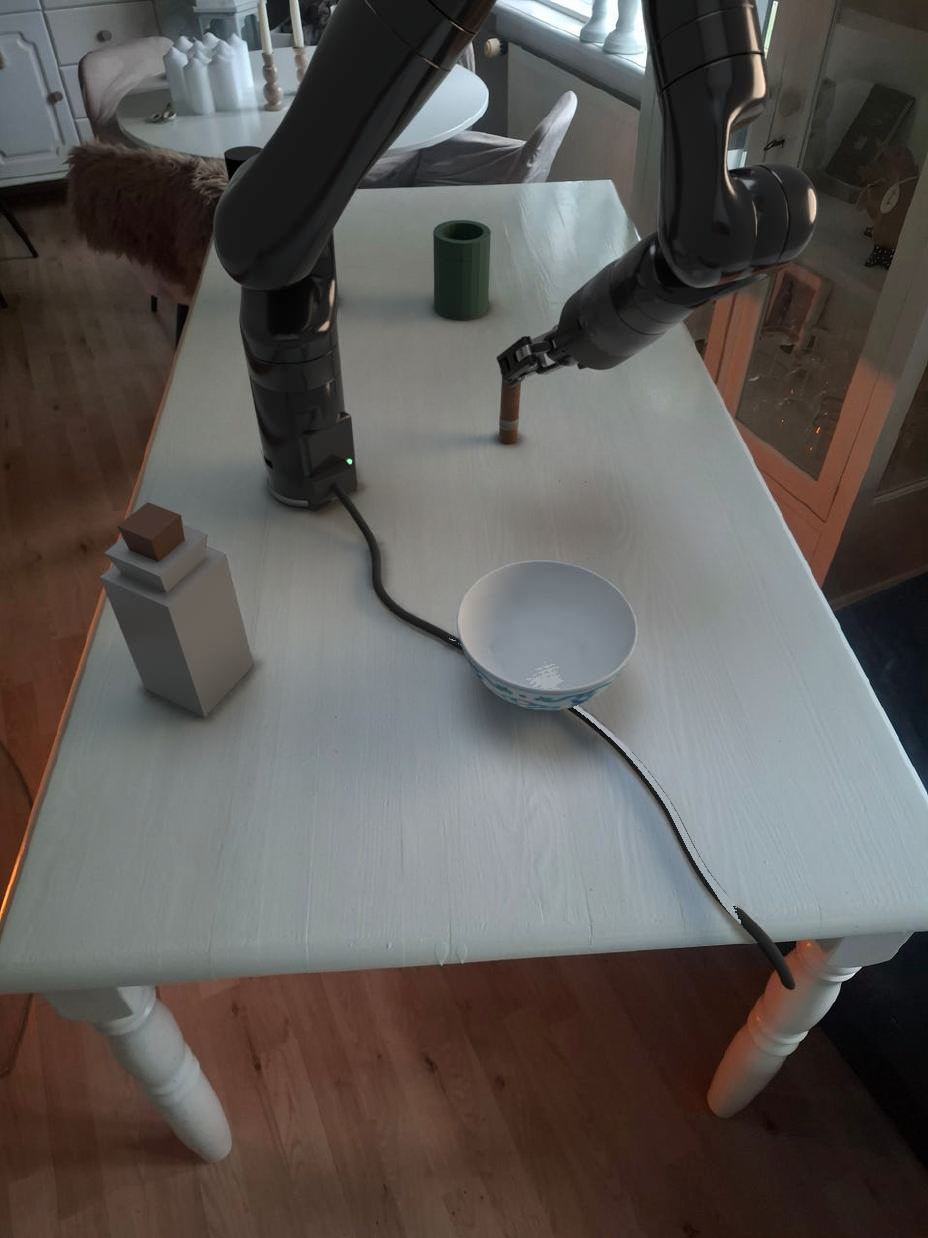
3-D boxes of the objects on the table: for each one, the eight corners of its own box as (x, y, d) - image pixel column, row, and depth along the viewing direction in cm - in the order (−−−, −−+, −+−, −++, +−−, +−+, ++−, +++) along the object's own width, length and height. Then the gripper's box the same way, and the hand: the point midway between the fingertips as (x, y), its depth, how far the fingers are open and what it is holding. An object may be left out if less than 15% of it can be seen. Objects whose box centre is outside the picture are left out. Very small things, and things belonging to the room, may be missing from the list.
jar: (498, 307, 126) (502, 231, 118) (461, 325, 122) (462, 248, 114) (460, 290, 130) (461, 214, 122) (423, 307, 126) (421, 230, 118)
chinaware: (522, 596, 85) (527, 537, 79) (655, 672, 78) (671, 612, 72) (421, 687, 76) (419, 628, 71) (560, 780, 70) (570, 722, 64)
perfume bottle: (144, 688, 76) (81, 532, 63) (195, 638, 80) (146, 482, 67) (205, 717, 74) (153, 562, 61) (253, 664, 78) (214, 509, 65)
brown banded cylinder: (521, 438, 103) (527, 363, 96) (508, 446, 102) (513, 370, 95) (507, 430, 104) (511, 355, 97) (494, 438, 103) (497, 362, 96)
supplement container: (226, 219, 147) (214, 153, 139) (257, 207, 150) (247, 142, 143) (252, 230, 144) (242, 163, 136) (283, 218, 147) (274, 152, 140)
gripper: (674, 255, 77) (590, 319, 92) (535, 285, 72) (471, 348, 87) (698, 337, 77) (611, 388, 92) (561, 372, 73) (493, 419, 88)
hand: (543, 368), depth 90 cm, fingers open, 8 cm apart
